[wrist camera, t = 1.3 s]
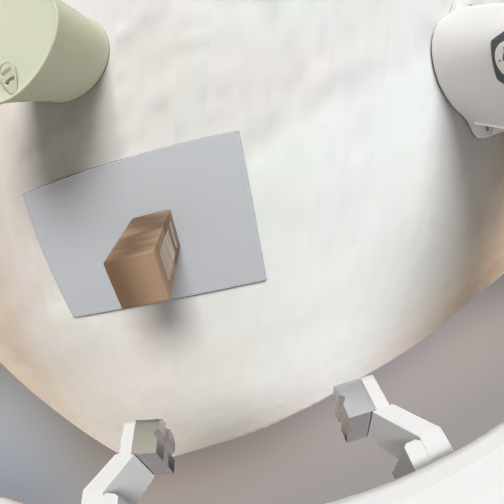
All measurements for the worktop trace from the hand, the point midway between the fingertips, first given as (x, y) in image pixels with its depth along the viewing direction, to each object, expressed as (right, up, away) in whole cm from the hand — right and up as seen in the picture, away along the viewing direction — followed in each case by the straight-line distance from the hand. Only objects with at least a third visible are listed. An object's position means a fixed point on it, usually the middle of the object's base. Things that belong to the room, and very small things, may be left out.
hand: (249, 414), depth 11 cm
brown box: (-9, +8, +20) cm, 24 cm away
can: (-18, +25, +12) cm, 33 cm away
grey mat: (-11, +8, +21) cm, 25 cm away
